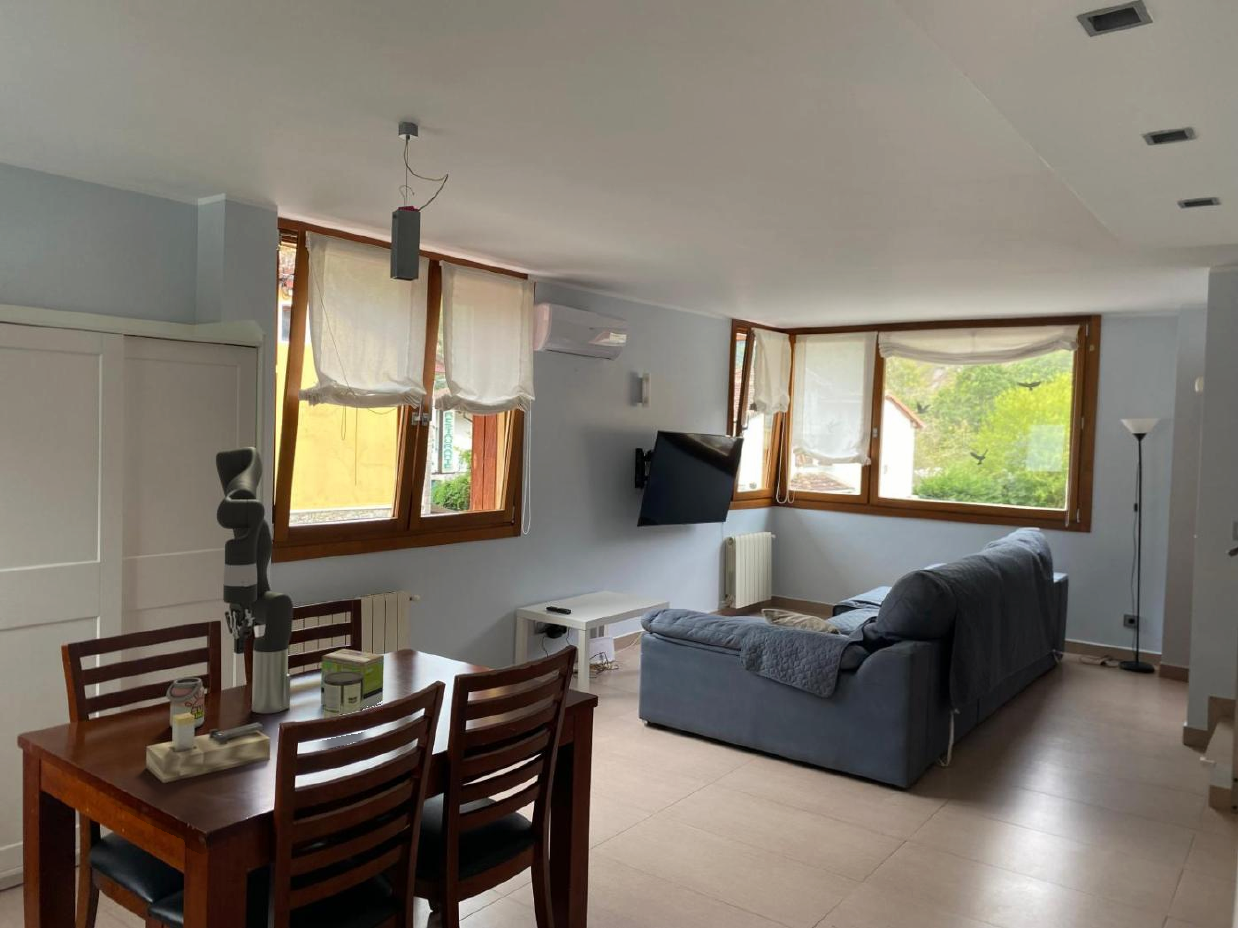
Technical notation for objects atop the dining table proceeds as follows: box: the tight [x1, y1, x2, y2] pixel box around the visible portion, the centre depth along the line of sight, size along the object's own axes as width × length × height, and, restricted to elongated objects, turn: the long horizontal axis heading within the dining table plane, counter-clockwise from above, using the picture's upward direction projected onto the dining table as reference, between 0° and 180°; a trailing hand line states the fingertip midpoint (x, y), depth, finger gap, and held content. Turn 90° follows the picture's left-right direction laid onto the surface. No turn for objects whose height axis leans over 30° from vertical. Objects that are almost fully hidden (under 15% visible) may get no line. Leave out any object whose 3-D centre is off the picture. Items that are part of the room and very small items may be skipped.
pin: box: [171, 713, 195, 753], centre depth 210 cm, size 4×4×12 cm
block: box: [145, 728, 271, 784], centre depth 214 cm, size 24×12×7 cm, turn 134°
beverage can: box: [165, 677, 205, 729], centre depth 240 cm, size 9×8×12 cm
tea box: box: [320, 648, 385, 709], centre depth 263 cm, size 15×10×15 cm, turn 68°
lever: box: [212, 722, 264, 741], centre depth 219 cm, size 11×4×1 cm, turn 134°
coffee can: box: [323, 672, 364, 719], centre depth 242 cm, size 10×10×14 cm
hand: (239, 652), depth 219 cm, fingers closed
